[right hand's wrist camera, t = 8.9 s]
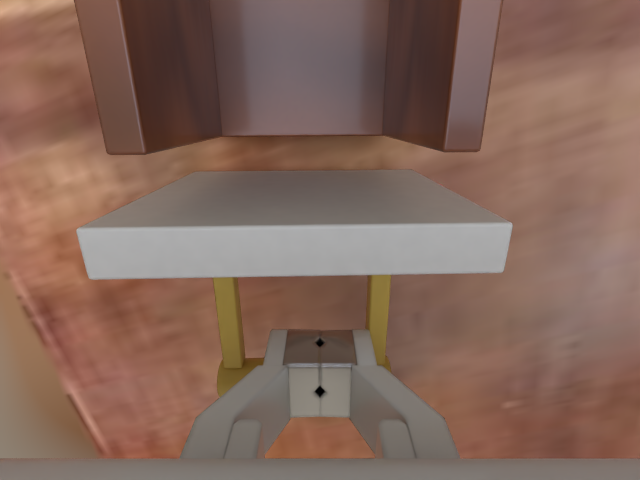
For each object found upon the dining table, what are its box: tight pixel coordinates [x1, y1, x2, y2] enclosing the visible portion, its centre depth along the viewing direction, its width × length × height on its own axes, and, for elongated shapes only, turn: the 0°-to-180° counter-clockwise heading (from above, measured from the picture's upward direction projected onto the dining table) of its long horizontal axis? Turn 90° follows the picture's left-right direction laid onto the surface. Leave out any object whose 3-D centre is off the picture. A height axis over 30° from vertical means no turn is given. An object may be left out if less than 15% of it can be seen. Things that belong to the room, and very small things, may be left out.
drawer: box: [74, 0, 513, 397], centre depth 9 cm, size 22×9×8 cm, turn 0°
